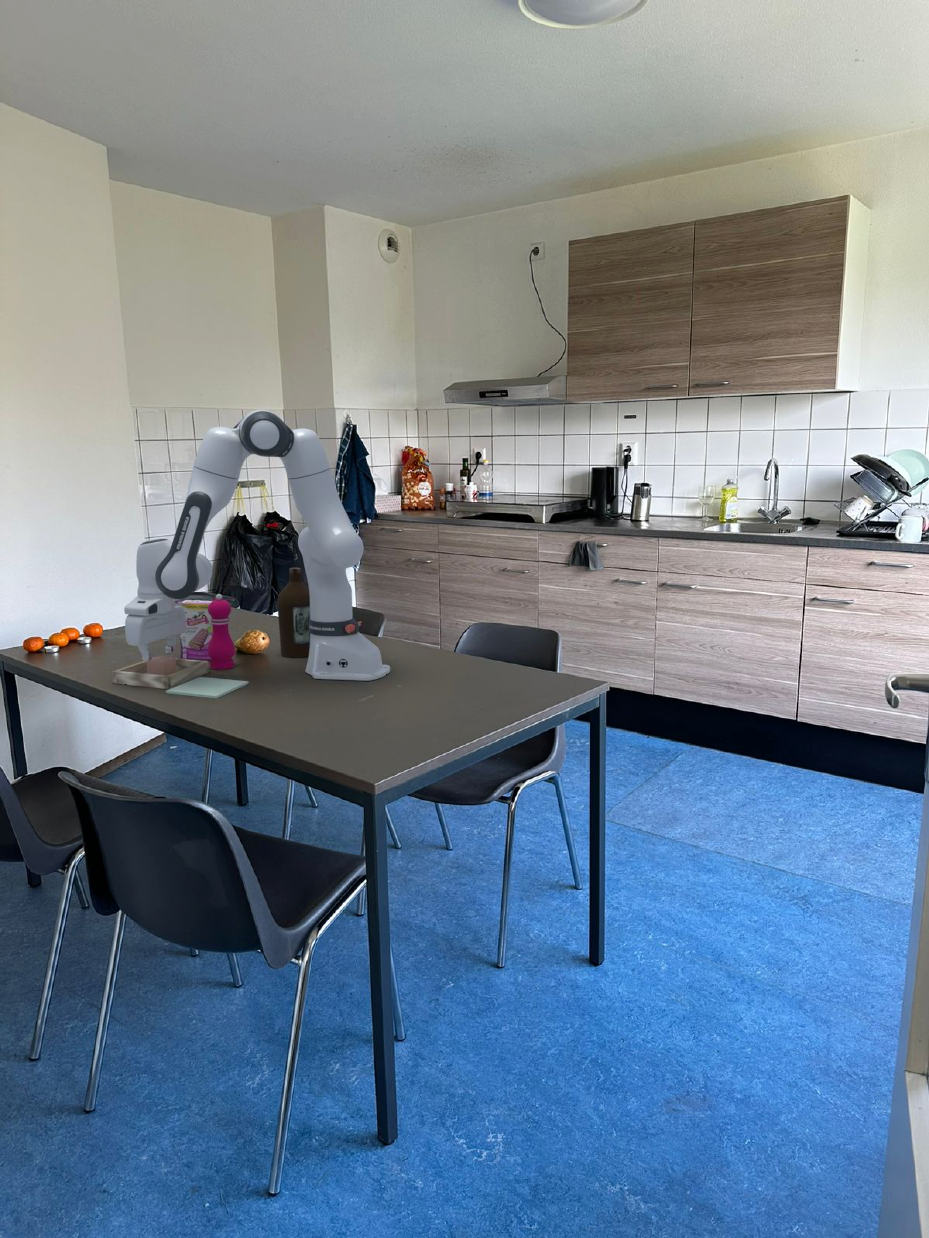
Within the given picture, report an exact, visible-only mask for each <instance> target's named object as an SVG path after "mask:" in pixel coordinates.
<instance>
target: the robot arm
mask: <svg viewBox="0 0 929 1238" xmlns="http://www.w3.org/2000/svg"><path fill="white" fill-rule="evenodd" d="M251 455H257V456H259V457H264V458H268V457H269V458H279V459H280V460H281V461H282V462H281V463H282V464H283V467H284V470H285V473H286V478H287V480H288V484H289V486H290V487H289V488H290V491H291V494H292V497H293V500H294V503H295V508H296V509H297V511H298V513H299V514H300V515H301V517H302V518H303V520H304V523H305V525H306V527H304V528H303V529H302V530H301V532H300V533H299V536H298V537H297V545H298V549H299V551H300V554H301V556H302V559H303V560H302V561H303V566H304V569H305V575H306V578H307V584H308V585H307V586H308V589H309V594H310V619H309V638H310V649H309V656H308V658H307V664H306V667H305V670H304V672H305V673H307V674H308V675H310V676H312V678H313V679H315V680H316V679H318V680H339V681H340V680H344V681H364V682H365V681H369V682H370V681H374V680H378V679H381V678H383V677H385V676H386V674H387V675H388V674H389V673H391V666H390V665H388V664H383V661H382V654H381V651H380V649H379V647H378V646H376V645H375V644H374V643H373V642H372V641H370V640H369V638H366V636H364V635H363V634H362V633H360V630H359V629H360V626H362V621H357V620H356V619H355V618H354V617H353V589H352V585H351V584H350V582H349V579H348V576H347V572H346V569H348V568H352V567H354V566H356V565H357V564H358V563H359V562H360V561H361V560H362V557H363V555H364V549H365V547H364V543H363V540H362V538H361V537H360V536H359V534H358V532H356V529H354V527H353V524H352V522H351V520H350V518H349V516H348V513H347V512H346V510H345V508H344V506H343V503H342V501H341V498H340V496H339V493H338V491H337V486H336V483H335V479H334V475H333V472H332V469H331V466H330V465H331V464H330V462H329V459H328V456H327V453H326V451H325V448H324V446H323V443H322V442H321V439H320V438H319V435H318V434H317V433H316V432H315V431H314V430H313V429H310V428H305V427H304V428H301V427H300V428H296V429H295V428H294V429H291V428H290V427H289V426H288V425H287V424H286V423H285V422H284V421H283V420H282V419H281V418H280V416H279V415H277V414H276V413H274V412H273V411H271V410H269V409H261V408H260V409H255V410H252V411H250V412H248V413H247V414H246V415H245V416H244V417H243V418H242V419H240V421H239V422H238V423H237V424H235V426H233V428H229V427H226V426H215V427H212V428H211V427H210V428H209V429H208V430H207V431H206V433H205V434H204V437H203V438H202V441H201V443H200V444H199V448H198V451H197V453H196V456H195V459H194V462H193V466H192V470H191V475H190V480H189V483H188V484H189V485H188V487H187V493H186V497H185V502H184V504H183V505H184V506H183V509H182V512H181V514H180V517H179V521H178V524H177V527H176V529H175V533H174V536H173V539H172V541H171V540H170V539H168V538H158V539H152V540H147V541H143V542H142V543H141V544H139V546H138V547H137V551H136V562H135V564H136V566H135V567H136V568H135V569H136V571H135V572H136V577H137V580H138V587H137V596H136V597H134V598H133V599H132V600H131V601H130V602H128V603H127V604H125V606H124V609H123V610H124V614H125V615H127V616H126V618H125V621H124V629H125V630H124V633H125V640H126V643H127V644H128V645H129V646H133V647H137V649H138V650H139V652H140V654H141V660H142V661H149V660H151V659H152V658H153V657H152V653H151V652H149V649H148V648H150V647H149V644H151V643H154V642H158V641H161V640H164V639H167V645H166V646H164V649H165V653H166V654H172V653H175V646H176V643H177V640H178V635H180V634H181V633H185V631H186V628H187V625H186V616H185V611H184V608H183V606H182V599H183V600H184V599H186V598H188V597H190V596H192V595H193V594H194V593H195V592H197V591H198V590H199V591H200V589H202V588H204V587H206V586H207V585H208V584H210V582H211V580H212V578H213V565H212V563H211V561H210V560H209V559H208V557H207V556H205V555H203V554H201V553H199V552H200V549H201V546H202V542H203V539H204V536H205V533H206V531H207V528H208V526H209V524H210V522H211V521H212V520H213V519H214V518H215V516H217V514H218V513H220V512H221V511H222V510H223V509H224V508H226V507H227V506H228V505H229V504H230V502H231V500H232V498H233V497H234V494H235V492H236V489H237V486H238V482H239V478H240V476H241V471H242V468H243V465H244V462H245V461H246V460H247V458H249V456H251Z"/></svg>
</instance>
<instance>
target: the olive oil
mask: <svg viewBox="0 0 929 1238" xmlns="http://www.w3.org/2000/svg"><path fill="white" fill-rule="evenodd" d="M301 571H302V568H300V567H290V568H289V574H288V575H289V581H288V583H287V584H286V585H285V586H284V588H283V589H282V590H281V591H280V592H279V593H278V596H277V601H276V605H277V617H278V629H279V643H280V655H281V656H282V657H284V658H285V657H286V658H292V659H294V658H295V659H299V658H307V657H309V649H310V638H309V619H310V594H309V587H307V585H305V583H304V582H303V581H302V572H301Z"/></svg>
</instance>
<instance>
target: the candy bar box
mask: <svg viewBox="0 0 929 1238" xmlns="http://www.w3.org/2000/svg"><path fill="white" fill-rule="evenodd" d="M212 601H213V600H198V599H197V600H195V599H194V600H192V599H185V600H184V599H183V601H182V600H181V602H182V606H183V608H184V611H185V616H186V625H187V628H186V631H185V633H181V634H179V639H180V659H189V660H200V661H209V662H210V661H211V660H212V659H211V658H210V657H209V655H208V646H209V643H210V640H211V638H212V633H213V627H212V624H211V623H210V622H211V620H210V619H211V618H212V617H211V616H210V615H209V613H208V606H209V604H210V603H211V602H212Z"/></svg>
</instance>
